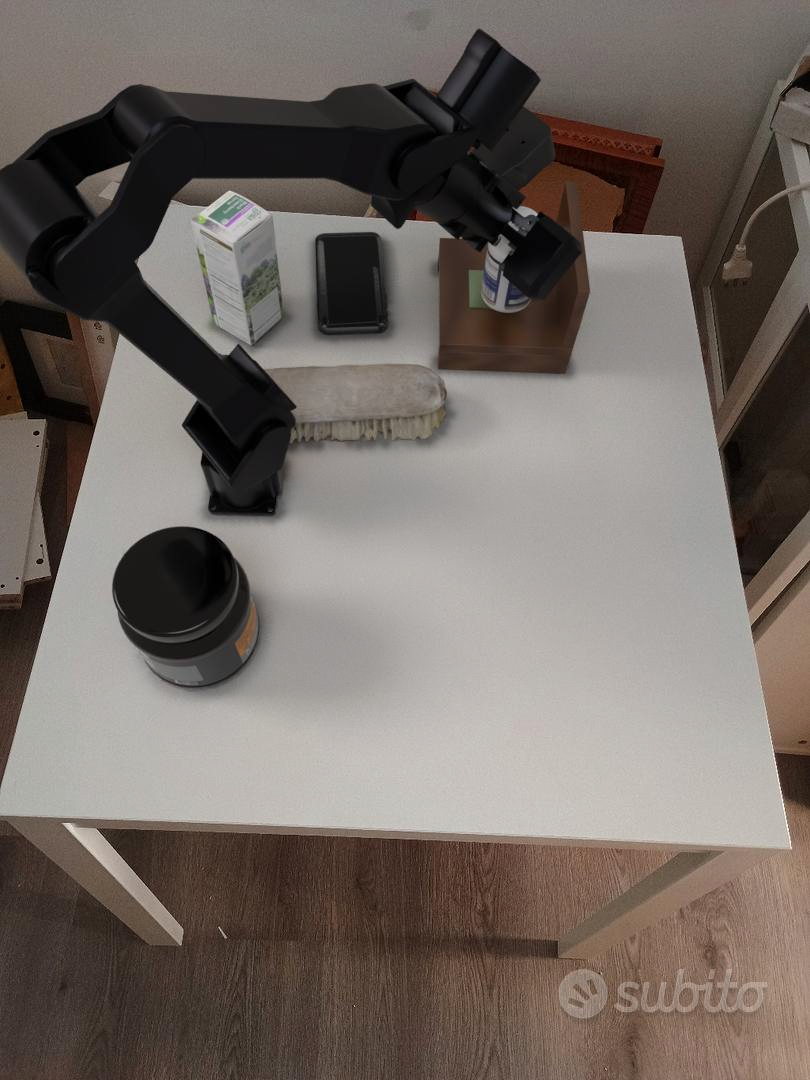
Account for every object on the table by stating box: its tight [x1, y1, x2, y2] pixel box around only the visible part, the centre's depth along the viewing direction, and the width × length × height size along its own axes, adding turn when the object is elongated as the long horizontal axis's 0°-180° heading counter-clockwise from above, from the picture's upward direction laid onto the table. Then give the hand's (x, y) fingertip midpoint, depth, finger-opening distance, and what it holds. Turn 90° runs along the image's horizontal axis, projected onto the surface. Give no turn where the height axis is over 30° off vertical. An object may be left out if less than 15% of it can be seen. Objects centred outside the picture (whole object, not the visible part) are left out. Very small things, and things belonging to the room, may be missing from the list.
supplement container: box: [111, 525, 261, 691], centre depth 69 cm, size 10×10×12 cm
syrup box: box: [190, 190, 285, 347], centre depth 86 cm, size 6×6×14 cm
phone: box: [314, 231, 389, 336], centre depth 95 cm, size 8×1×15 cm
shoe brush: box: [263, 363, 448, 445], centre depth 84 cm, size 24×8×5 cm, turn 95°
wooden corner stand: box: [437, 180, 591, 375], centre depth 89 cm, size 14×16×12 cm
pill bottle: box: [481, 205, 538, 313], centre depth 83 cm, size 5×5×10 cm
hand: (525, 240), depth 82 cm, fingers closed on pill bottle, 5 cm apart
